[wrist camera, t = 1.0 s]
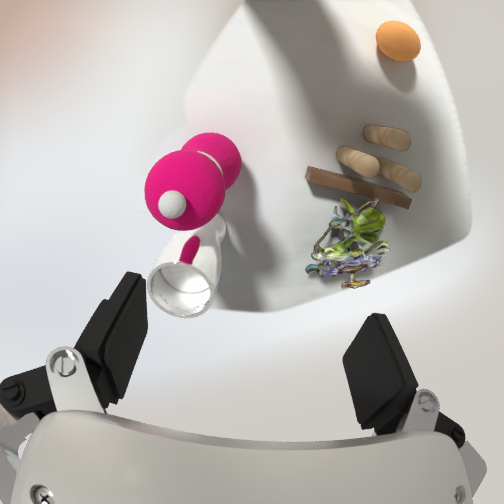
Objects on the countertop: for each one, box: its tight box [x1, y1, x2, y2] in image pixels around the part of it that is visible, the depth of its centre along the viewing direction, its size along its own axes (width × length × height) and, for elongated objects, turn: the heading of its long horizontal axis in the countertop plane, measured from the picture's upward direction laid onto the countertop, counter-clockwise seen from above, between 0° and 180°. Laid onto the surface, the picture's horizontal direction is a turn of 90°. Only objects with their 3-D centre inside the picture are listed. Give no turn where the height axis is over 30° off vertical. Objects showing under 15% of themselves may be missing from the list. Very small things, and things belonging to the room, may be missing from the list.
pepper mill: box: [145, 133, 241, 231], centre depth 24 cm, size 7×7×20 cm
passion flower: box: [305, 198, 390, 289], centre depth 35 cm, size 11×11×12 cm
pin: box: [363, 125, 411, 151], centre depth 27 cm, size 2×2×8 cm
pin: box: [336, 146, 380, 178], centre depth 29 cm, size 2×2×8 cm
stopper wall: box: [305, 166, 412, 209], centre depth 33 cm, size 2×15×3 cm, turn 80°
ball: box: [376, 21, 421, 62], centre depth 22 cm, size 6×6×6 cm
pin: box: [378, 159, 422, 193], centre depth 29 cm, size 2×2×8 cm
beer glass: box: [147, 213, 226, 318], centre depth 31 cm, size 7×7×15 cm
